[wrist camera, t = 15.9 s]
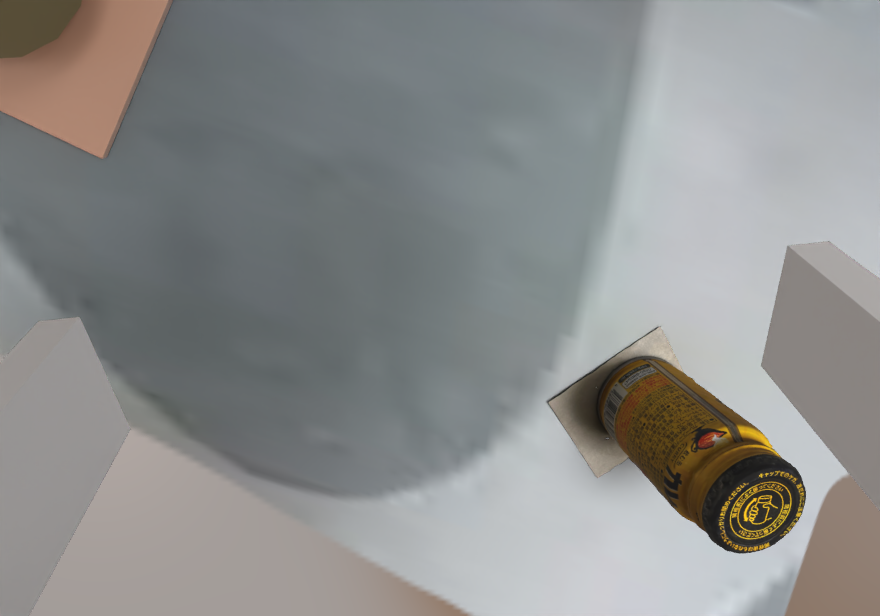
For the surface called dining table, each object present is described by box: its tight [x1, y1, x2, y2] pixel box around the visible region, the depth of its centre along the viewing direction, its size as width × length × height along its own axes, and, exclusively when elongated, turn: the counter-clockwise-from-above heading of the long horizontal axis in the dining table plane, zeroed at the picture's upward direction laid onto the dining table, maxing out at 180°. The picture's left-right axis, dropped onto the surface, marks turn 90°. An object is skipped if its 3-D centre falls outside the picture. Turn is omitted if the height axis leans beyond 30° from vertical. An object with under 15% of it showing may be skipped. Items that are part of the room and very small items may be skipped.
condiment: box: [548, 327, 806, 553], centre depth 35 cm, size 7×8×12 cm
